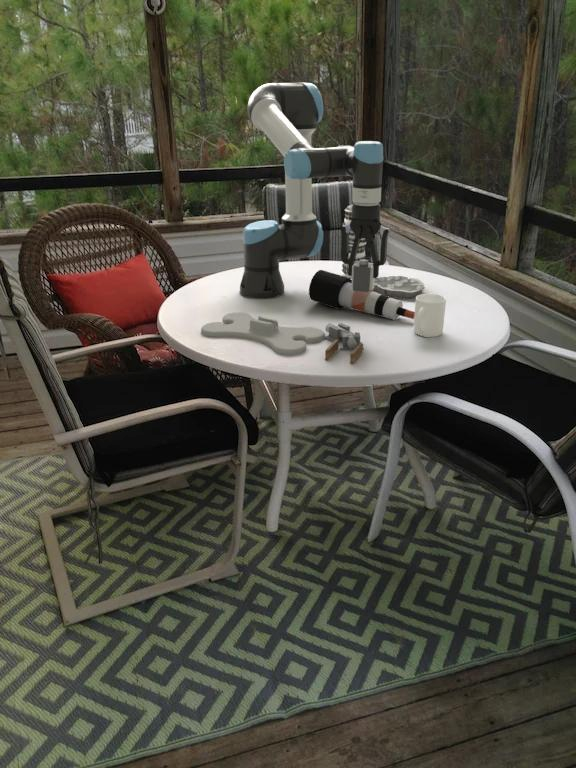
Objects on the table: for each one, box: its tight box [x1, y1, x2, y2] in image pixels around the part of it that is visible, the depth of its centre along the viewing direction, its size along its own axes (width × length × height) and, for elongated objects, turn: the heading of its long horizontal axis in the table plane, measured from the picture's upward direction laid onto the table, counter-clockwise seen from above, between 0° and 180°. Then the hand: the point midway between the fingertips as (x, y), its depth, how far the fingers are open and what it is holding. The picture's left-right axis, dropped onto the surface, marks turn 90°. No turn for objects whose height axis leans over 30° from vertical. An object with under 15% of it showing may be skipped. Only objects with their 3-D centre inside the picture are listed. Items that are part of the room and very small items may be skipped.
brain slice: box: [373, 275, 426, 300], centre depth 224 cm, size 20×17×3 cm
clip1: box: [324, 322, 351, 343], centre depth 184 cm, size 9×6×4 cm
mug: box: [413, 293, 447, 338], centre depth 185 cm, size 12×8×10 cm
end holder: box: [324, 339, 364, 365], centre depth 172 cm, size 8×8×3 cm
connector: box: [353, 259, 373, 292], centre depth 183 cm, size 4×4×8 cm
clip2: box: [338, 331, 364, 351], centre depth 178 cm, size 5×6×4 cm
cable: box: [308, 269, 415, 321], centre depth 203 cm, size 10×34×10 cm, turn 56°
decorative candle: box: [341, 204, 368, 279], centre depth 237 cm, size 9×9×25 cm
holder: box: [200, 312, 326, 356], centre depth 187 cm, size 19×34×5 cm, turn 57°
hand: (362, 287), depth 185 cm, fingers closed on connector, 4 cm apart
